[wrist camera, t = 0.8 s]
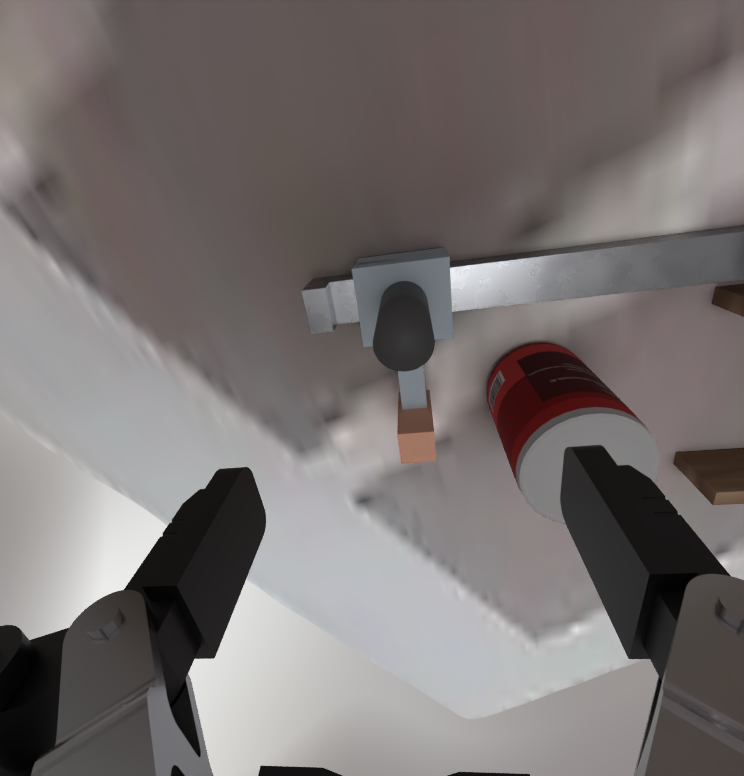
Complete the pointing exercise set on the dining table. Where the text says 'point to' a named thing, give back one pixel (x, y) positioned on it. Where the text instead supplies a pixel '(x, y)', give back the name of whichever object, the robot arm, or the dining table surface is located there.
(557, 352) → the canned food
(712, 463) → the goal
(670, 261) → the rail
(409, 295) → the grey block with post
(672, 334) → the dining table surface
